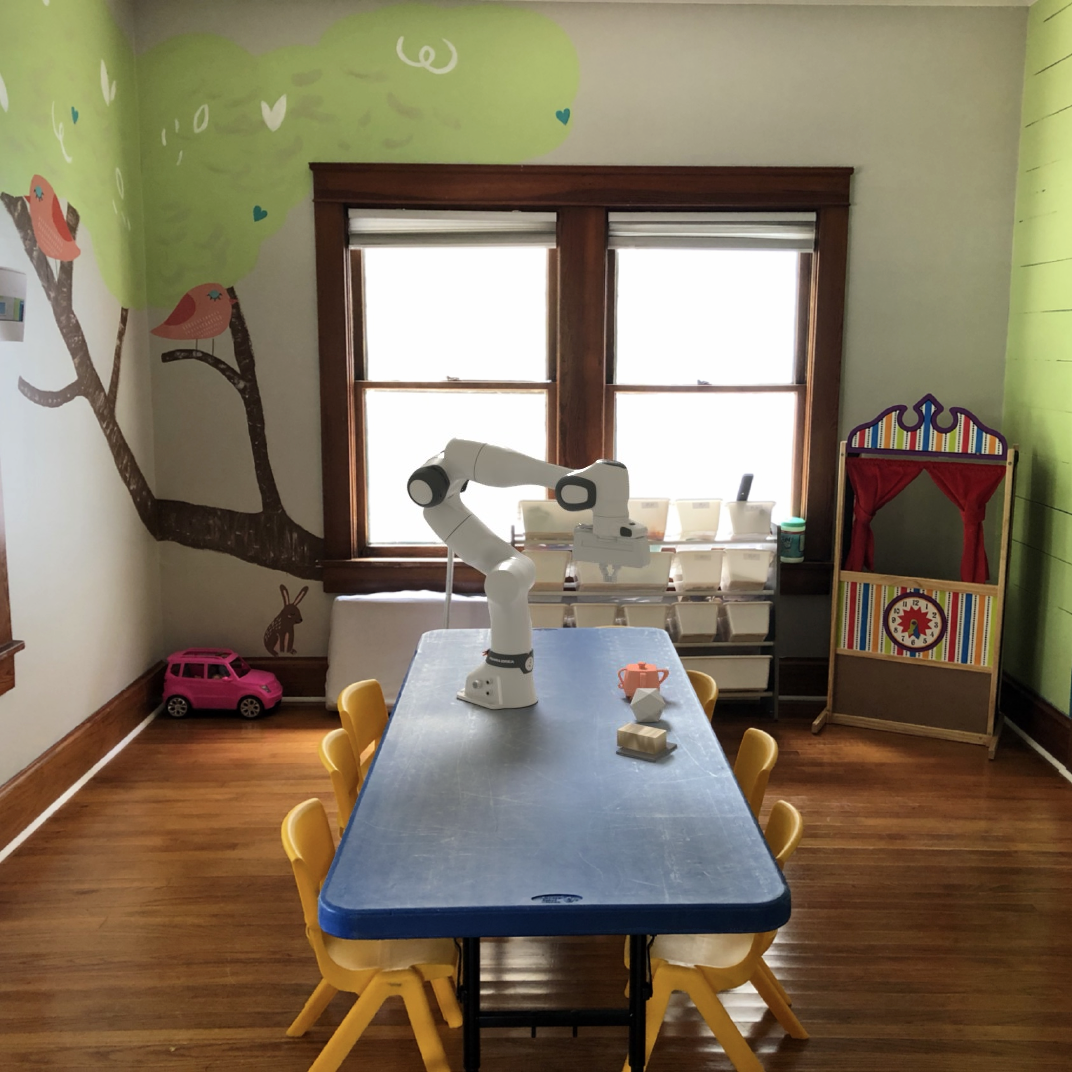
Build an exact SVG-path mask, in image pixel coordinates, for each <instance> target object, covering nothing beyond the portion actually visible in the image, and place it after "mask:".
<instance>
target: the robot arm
mask: <svg viewBox="0 0 1072 1072" xmlns="http://www.w3.org/2000/svg"><path fill="white" fill-rule="evenodd" d="M469 481H471V482H474V483H476V484H480V485H484V486H488V487H492V488H493V487H494V488H499V489H500V488H503V489H504V488H506V489H507V488H511V487H512V488H513V487H518V486H528V485H532V486H540V487H544V488H548V489H551V490H554V497H555V499H556V502H557V504H558V505H559V507H561V509H563V510H564V511H567V512H571V513H577V512H582V511H585V510H591V511H592V524H586V523H579V524H578V525H575V527H574V528H573V542H572V551H571V556H572V559H573V560H574V561H576V562H583V563H584V562H585V563H592V564H593V563H594V564H598V568H599V571H600V572H601V574H602V578H603V579H602V581H603V583H611V584H616V583H617V581H618V575H619V573H620V572H621V570H622V567H626V568H635V569H644V568H647V567H648V566H649V565H650V563H651V548H650V546H651V545H650V540H649V539H648V538H647V536H646V535H647V534H648V531H649V530H648V527H647V526H646V525H644V524H641V523H639V522H637V521H635V520H633V519H632V518H630V512H629V507H628V506H629V505H628V504H629V500H630V475H629V470H628V467H627V466H626V465H625V464H624V463H622V462H621V461H617V460H613V459H607V458H603V459H602V458H600V459H598V460H596V461H595V462H594V463H592V464H591V465H588V466H587V467H585V468H582V469H581V468H580V469H577V468H570V467H566V466H562V465H559V464H555V463H551V462H548V461H544V460H540V459H538V458H535V457H532V456H529V455H526V454H525V453H522V452H519V451H517V450H514V449H513V448H510V447H507V446H505V445H502V444H499V443H497V442H493V441H490V440H487V439H483V438H478V437H472V436H466V435H465V436H464V435H463V436H462V435H460V436H454V437H453V438H452V439H450V440H449V441H448V443H447V444H446V446H445V448H444V449H443V450H442V451H441V452H440V453H437V454H435V455H434V456H432V457H430V458H429V459H427V460H426V461H425V463H423V464H422V465H421V466H420V467H419V468H417V469H416V470H414V472H413V473H412V474H411V475H410V476H409V477H408V481H407V483H406V490H407V494H408V496H409V498H410V499H411V500H412V502H413V503H414V504H416V505H417V506H418V507H421V508H423V511H422V516H423V519H424V520H425V522H426V523H427V525H428V527H430V529H431V530H432V531H433V532H434V533H435V535H437V537H438V538H439V539H440V540H441V541H442V542H443V543H444V544H445V546H447V547H448V548H449V549H450V550H451V551H452V552H453V553H454V554H456V556H457V557H458V558H459V559H460V560H461V561H463V563H464V564H466V565H468V566H471V567H473V568H474V569H476V570H477V571H479V572H480V573H482V574H483V575H485V576H486V577H485V579H484V584H483V586H484V587H483V590H484V592H485V593H484V594H485V595H486V600H487V608H488V612H489V617H490V618H489V619H490V647H489V648H488V649H487V650H485V651H482V652H481V653H483V654H482V657H484V656H486V658H485V661H484V662H482V663H481V664H479V665H478V666H477V667H475V668H474V669H473V670H471V671H470V672H469V673H468V674H467V676H466V679H465V684H464V687H463V688H460V690H458V691H457V692H456V698H457V699H460V700H463V701H466V702H470V703H472V704H475V705H478V706H481V707H485V708H487V709H490V710H500V709H501V710H502V709H516V708H524V707H525V708H526V707H529V706H531V705H532V706H533V705H534V704H536V703H537V702H538V700H539V698H538V695H537V690H536V685H535V680H534V679H535V678H534V664H535V662H534V659H535V658H534V648H533V641H532V640H533V620H532V618H531V613H530V607H529V591H530V590H531V589H532V588H533V586H534V585H535V584H536V583H535V582H536V580H537V566H536V564H535V562H534V561H533V560H532V559H531V558H530V557H529V556H527V555H525V554H523V553H522V552H520V551H519V550H518V549H516V548H515V547H513V545H511V544H510V543H508V542H506V541H505V540H504V539H502V538H501V537H499V536H498V535H497V534H496V533H495V532H493V530H491V529H490V528H489V527H488V526H487V524H485V523H484V522H483V521H482V520H481V519H480V518H479V517H478V516H476V514H475V513H474V512H473V511H472V510H470V509H469V508H468V507H467V506H466V505H465V504H464V503H463V501H462V500H461V493H464V492H466V490H467V488H468V484H469ZM610 565H611V566H612V567H611V568H612V570H613V571H612V574H611V573H609V570H608V567H609V566H610Z"/></svg>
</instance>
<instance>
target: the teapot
mask: <svg viewBox="0 0 1072 1072" xmlns="http://www.w3.org/2000/svg"><path fill="white" fill-rule="evenodd" d="M623 671H624V674H623V678H622V676H621V675H622V674H621V672H623ZM659 673H663V675H662V677H661V678H660V677H659ZM669 675H670V671H669V670H668V669H666V668H657V666H656V664H652V663H647V662H645V661H638V662H637V663H627V664H626V666H625V667H621V668H620V669H619V670H618V671H617V677H618V680H620V681H619V683H618V684H617V687H618V689H620V690H623V691H624V694H625V696H627V697H629V700H630V701H632V699H633V697H634V694H635V692H636V689H637V688H658V690H659V692H660V693H661V684H663V682H664V681H665V680H666V679H667V678H668V677H669Z"/></svg>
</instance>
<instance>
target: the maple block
mask: <svg viewBox="0 0 1072 1072" xmlns="http://www.w3.org/2000/svg"><path fill="white" fill-rule="evenodd" d="M667 733H668V731H667V730H665V729H661V728H657V727H653V726H647V725H642V724H637V723H632V722H628V723H626V724H625V725H623V726H621V727H620V728H618V729H617V731H616V735H617V736H616V746H617V747H620V748H622V747H624V748H628V749H633V750H637V751H642V752H646V753H651V754H656V753H658V752H659V751H661V750H662V749H664V748H665V747H666V742H667V737H668V736H667Z"/></svg>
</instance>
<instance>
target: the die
mask: <svg viewBox="0 0 1072 1072" xmlns="http://www.w3.org/2000/svg"><path fill="white" fill-rule="evenodd" d="M666 705H667V704H666V703H665V700H664V699H663V697H662V694H661V691H660V692H659V690H658V688H637V689H636V692H635V694H634V697H633V699H632V700H631V702H630V704H629V707H630V709H631V711H632V713H633V715H634V717H635V719H636V721H637V723H659V721H660V719H661V717H662V714H663V712H664V710H665V707H666Z"/></svg>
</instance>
